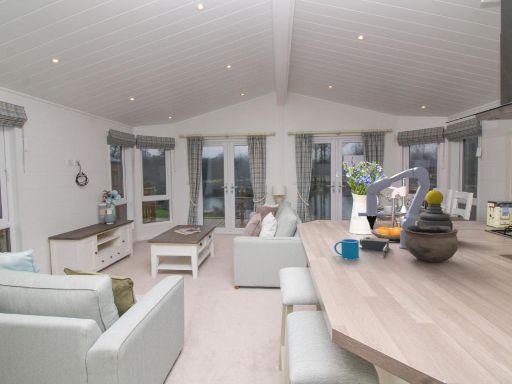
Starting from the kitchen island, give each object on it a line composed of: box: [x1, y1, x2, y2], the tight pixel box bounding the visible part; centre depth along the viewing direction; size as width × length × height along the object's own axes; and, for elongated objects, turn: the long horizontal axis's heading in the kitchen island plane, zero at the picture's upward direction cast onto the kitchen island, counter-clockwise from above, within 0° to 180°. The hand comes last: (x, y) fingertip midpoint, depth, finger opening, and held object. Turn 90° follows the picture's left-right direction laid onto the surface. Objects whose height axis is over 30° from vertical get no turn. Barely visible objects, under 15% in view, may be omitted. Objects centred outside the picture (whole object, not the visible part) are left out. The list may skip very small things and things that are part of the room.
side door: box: [382, 244, 389, 257], centre depth 159 cm, size 13×2×4 cm, turn 150°
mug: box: [333, 238, 360, 260], centre depth 156 cm, size 12×8×8 cm
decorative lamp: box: [416, 189, 454, 231], centre depth 186 cm, size 19×19×30 cm
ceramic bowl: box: [404, 224, 459, 263], centre depth 146 cm, size 22×22×15 cm
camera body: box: [359, 236, 390, 252], centre depth 171 cm, size 15×8×6 cm, turn 63°
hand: (371, 229), depth 177 cm, fingers closed
